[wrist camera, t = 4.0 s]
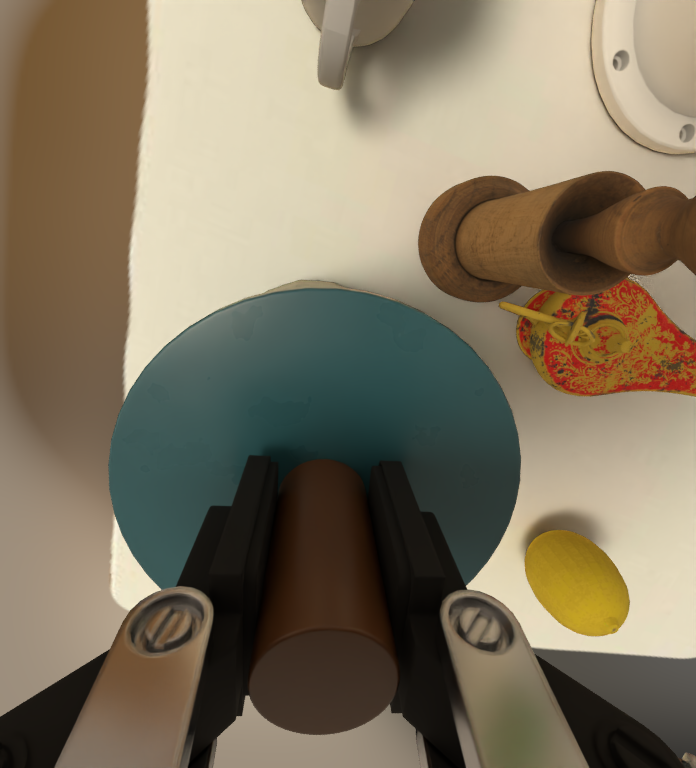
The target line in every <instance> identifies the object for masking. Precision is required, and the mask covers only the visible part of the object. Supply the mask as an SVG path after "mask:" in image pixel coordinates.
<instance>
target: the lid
mask: <svg viewBox="0 0 696 768" xmlns="http://www.w3.org/2000/svg"><path fill="white" fill-rule="evenodd" d="M249 455H259V456H271V462H278V497H277V505H276V511H275V517H274V524H273V530H272V536H271V542H270V548H269V554H268V560H267V566H266V572H265V578H264V584H263V590H262V596H261V602H260V608H259V614H258V620H257V626H256V632H255V636H254V642H253V648H252V654H251V660H250V666H249V672H248V680H247V685H248V692H249V696H250V699H251V701H252V703H253V705H254V707H255V708H256V709H257V711H258V712H259V713H260V714H261V715H262V716H263V717H264V718H265V719H267V720H268V721H269V722H271V723H273V724H274V725H276V726H278V727H281V728H283V729H285V730H289V731H292V732H296V733H301V734H309V735H325V734H334V733H340V732H344V731H348V730H351V729H354V728H356V727H359V726H361V725H363V724H365V723H367V722H369V721H371V720H372V719H374V718H375V717H377V716H378V715H379V714H380V713H381V712H383V711H384V710H385V709H386V708H387V706H388V705H389V704H390V703H391V701H392V700H393V698H394V696H395V694H396V692H397V689H398V686H399V681H400V667H399V661H398V656H397V651H396V646H395V641H394V635H393V630H392V625H391V620H390V615H389V610H388V605H387V599H386V594H385V589H384V584H383V579H382V573H381V568H380V563H379V558H378V552H377V547H376V542H375V537H374V532H373V526H372V521H371V516H370V511H369V506H368V492H369V483H370V474H371V468H372V466H378V465H379V462H380V460H382V461H401V462H402V465H403V467H404V470H405V472H406V475H407V478H408V480H409V483H410V485H411V488H412V491H413V493H414V496H415V498H416V501H417V504H418V506H419V509H420V511H421V512H432V513H434V515H435V517H436V519H437V521H438V523H439V526H440V528H441V530H442V533H443V535H444V537H445V539H446V542H447V544H448V546H449V549H450V551H451V553H452V556H453V558H454V560H455V563H456V565H457V567H458V569H459V572H460V574H461V576H462V579H463V581H464V583H465V586H466V585H467V584H468V583H469V582H470V581H471V580H473V579H474V577H475V576H476V575H477V574H478V573H479V571H480V570H481V569H482V568H483V567H484V565H485V564H486V563H487V562H488V560H489V559H490V557H491V556H492V554H493V553H494V551H495V550H496V548H497V547H498V545H499V543H500V541H501V539H502V537H503V535H504V533H505V531H506V529H507V527H508V525H509V522H510V519H511V516H512V513H513V510H514V507H515V504H516V500H517V495H518V489H519V484H520V468H521V455H520V446H519V437H518V432H517V428H516V424H515V420H514V417H513V413H512V410H511V408H510V405H509V403H508V401H507V399H506V396H505V394H504V392H503V390H502V388H501V386H500V384H499V383H498V381H497V380H496V378H495V377H494V375H493V374H492V372H491V370H490V369H489V367H488V366H487V365H486V364H485V363H484V361H483V360H482V359H481V358H480V357H479V356H478V355H477V353H476V352H475V351H474V350H473V349H472V348H471V347H470V346H469V345H468V344H467V343H466V342H464V341H463V340H462V339H461V338H460V337H459V336H457V335H456V334H455V333H454V332H453V331H452V330H450V329H449V328H447V327H446V326H444V325H443V324H441V323H439V322H438V321H436V320H435V319H433V318H432V317H430V316H428V315H427V314H425V313H424V312H422V311H420V310H418V309H416V308H413V307H411V306H409V305H407V304H404V303H402V302H400V301H398V300H395V299H392V298H389V297H386V296H382V295H379V294H375V293H372V292H368V291H363V290H357V289H350V288H343V287H333V286H304V287H295V288H287V289H279V290H274V291H270V292H266V293H262V294H258V295H255V296H251V297H247V298H244V299H242V300H240V301H237V302H235V303H232V304H230V305H228V306H225V307H223V308H220V309H218V310H217V311H215V312H213V313H212V314H210V315H208V316H206V317H205V318H203V319H201V320H200V321H198V322H196V323H195V324H193V325H191V326H190V327H188V328H187V329H186V330H184V331H183V332H182V333H181V334H179V335H178V336H177V337H176V338H174V339H173V340H172V341H171V342H169V343H168V344H167V345H166V346H165V347H164V348H163V349H162V350H161V351H160V352H159V353H158V354H157V355H156V356H155V357H154V358H153V359H152V361H151V362H150V363H149V364H148V365H147V366H146V367H145V369H144V370H143V371H142V373H141V374H140V376H139V377H138V379H137V380H136V382H135V383H134V385H133V386H132V388H131V389H130V391H129V393H128V395H127V397H126V400H125V402H124V404H123V406H122V408H121V410H120V413H119V415H118V418H117V422H116V425H115V429H114V432H113V436H112V439H111V448H110V457H109V465H108V466H109V487H110V488H109V490H110V495H111V500H112V504H113V510H114V514H115V517H116V519H117V522H118V525H119V528H120V530H121V533H122V536H123V537H124V539H125V541H126V543H127V545H128V547H129V549H130V550H131V552H132V554H133V556H134V557H135V559H136V560H137V561H138V563H139V564H140V565H141V567H142V568H143V570H144V571H145V572H146V574H147V575H148V576H149V577H150V578H151V579H152V580H153V581H154V582H155V583H156V584H157V585H158V586H159V587H160V588H161V590H164V589H166V588H172V587H176V585H177V582H178V580H179V578H180V575H181V573H182V571H183V568H184V566H185V563H186V561H187V559H188V556H189V554H190V552H191V549H192V547H193V545H194V542H195V540H196V537H197V535H198V533H199V530H200V528H201V526H202V523H203V521H204V519H205V516H206V514H207V512H208V510H209V508H210V506H212V505H215V506H232V503H233V500H234V497H235V494H236V491H237V489H238V486H239V483H240V480H241V477H242V474H243V471H244V468H245V465H246V462H247V459H248V456H249Z"/></svg>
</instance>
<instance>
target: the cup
mask: <svg viewBox="0 0 696 768" xmlns="http://www.w3.org/2000/svg"><path fill="white" fill-rule="evenodd" d="M301 1H302V3H303V6H304V9H305V11H306V12H307V14H308V15H309V17H310V19H311V20H312V22H313V23H314V25H315V26H316V27H317V28H318V29H319V30H320V31H321V38H320V47H319V56H318V81H319V83H320V84H321V85H323V86H325V87H328V88H331V89H334V90H340V89H341V88H342V86H343V83H344V78H345V74H346V69H347V65H348V62H349V58H350V55H351V52H352V49H353V46H355V47H357V46H364V45H371V44H373V43H375V42H377V41H379V40H381V39H383V38H385V37H386V36H387V35H388V34H389V33H390V32H391V31H392V30H393V29H395V28H396V26H397V25H398V24H399V22H400V21H401V19H402V18H403V16H404V15H405V14H406V12H407V11H408V9H409V8H410V6H411V5H412V3H413V2H414V1H415V0H301Z"/></svg>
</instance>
